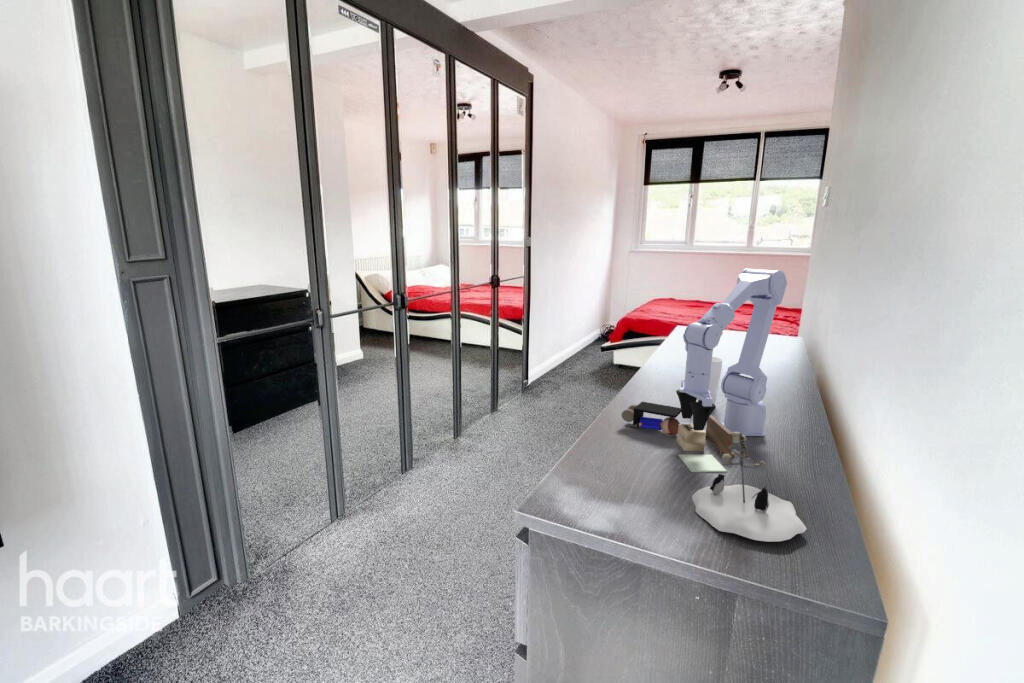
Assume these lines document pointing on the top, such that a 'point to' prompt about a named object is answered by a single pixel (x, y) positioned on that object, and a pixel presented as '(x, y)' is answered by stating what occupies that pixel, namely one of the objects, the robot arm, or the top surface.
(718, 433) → the brown piece
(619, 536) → the top surface
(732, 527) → the figurine
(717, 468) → the pad
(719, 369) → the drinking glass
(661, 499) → the top surface
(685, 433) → the letter cube
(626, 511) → the top surface
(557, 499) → the top surface
